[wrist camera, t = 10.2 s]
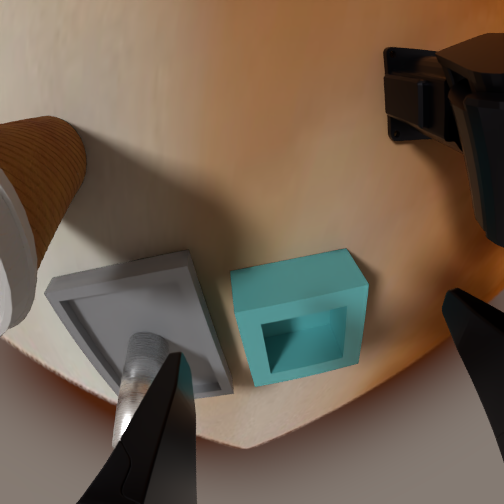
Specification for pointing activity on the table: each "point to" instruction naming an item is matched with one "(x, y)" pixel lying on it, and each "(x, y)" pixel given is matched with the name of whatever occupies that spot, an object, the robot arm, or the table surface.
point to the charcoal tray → (142, 317)
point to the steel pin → (137, 376)
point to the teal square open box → (300, 315)
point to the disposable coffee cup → (33, 203)
